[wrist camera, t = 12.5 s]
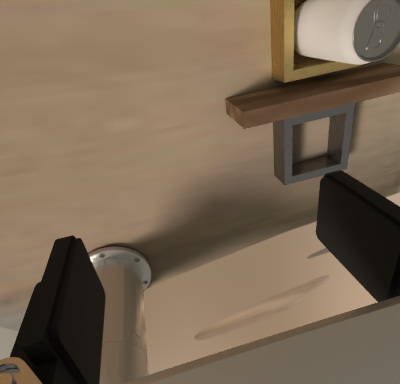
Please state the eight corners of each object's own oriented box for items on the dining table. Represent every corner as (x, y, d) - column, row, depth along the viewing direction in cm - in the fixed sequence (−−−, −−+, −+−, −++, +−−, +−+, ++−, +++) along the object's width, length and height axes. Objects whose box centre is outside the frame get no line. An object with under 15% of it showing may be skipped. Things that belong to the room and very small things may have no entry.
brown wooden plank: (382, 77, 42) (424, 86, 36) (226, 113, 39) (244, 128, 34) (384, 63, 41) (428, 69, 35) (225, 98, 38) (243, 112, 32)
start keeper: (333, 160, 47) (346, 168, 44) (274, 175, 46) (284, 185, 43) (339, 96, 42) (355, 101, 39) (272, 112, 41) (284, 118, 38)
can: (339, -2, 35) (424, -13, 25) (326, 56, 39) (398, 66, 28) (291, -5, 34) (361, -17, 24) (282, 55, 37) (340, 67, 27)
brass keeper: (342, 63, 40) (359, 65, 37) (272, 78, 38) (284, 82, 35) (351, -31, 34) (373, -37, 31) (269, -16, 33) (284, -20, 30)
